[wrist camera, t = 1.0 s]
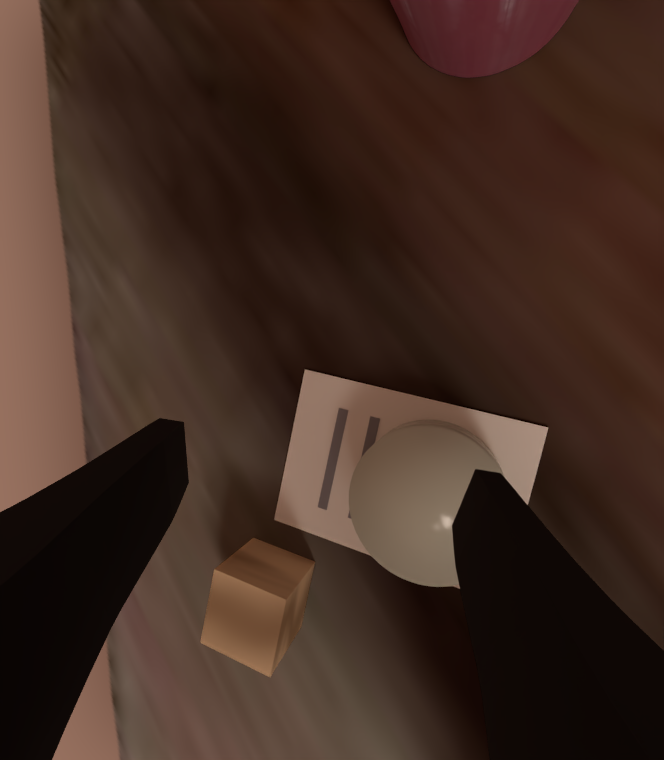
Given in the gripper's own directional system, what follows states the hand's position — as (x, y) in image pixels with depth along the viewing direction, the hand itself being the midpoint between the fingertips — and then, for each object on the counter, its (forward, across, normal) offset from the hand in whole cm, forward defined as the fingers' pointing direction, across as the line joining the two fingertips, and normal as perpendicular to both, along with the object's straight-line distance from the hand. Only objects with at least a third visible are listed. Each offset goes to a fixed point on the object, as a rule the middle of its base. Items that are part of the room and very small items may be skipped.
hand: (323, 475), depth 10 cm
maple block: (+8, +2, +18) cm, 20 cm away
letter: (+10, -4, +9) cm, 14 cm away
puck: (+10, -6, +9) cm, 15 cm away
